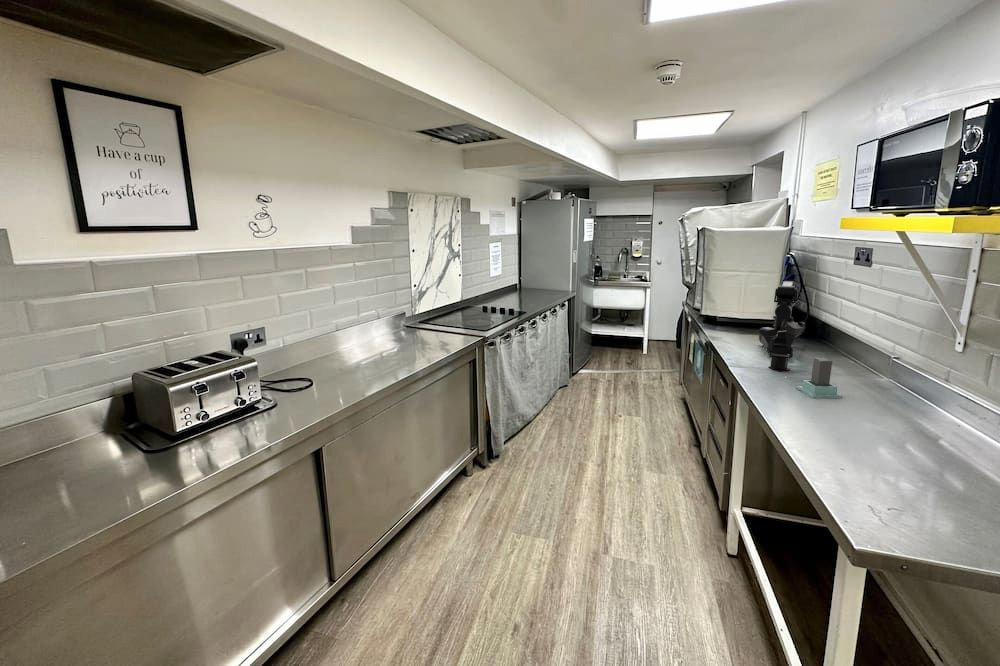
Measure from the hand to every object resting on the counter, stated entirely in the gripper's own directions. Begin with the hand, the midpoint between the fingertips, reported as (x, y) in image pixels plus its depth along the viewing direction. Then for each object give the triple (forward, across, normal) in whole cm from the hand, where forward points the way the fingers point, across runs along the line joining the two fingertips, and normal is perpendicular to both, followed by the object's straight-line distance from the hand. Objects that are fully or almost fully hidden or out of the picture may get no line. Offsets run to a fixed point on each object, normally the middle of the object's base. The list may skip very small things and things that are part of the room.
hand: (779, 349), depth 198 cm
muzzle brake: (+13, +30, +34) cm, 47 cm away
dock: (+13, 0, -21) cm, 25 cm away
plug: (+12, 0, -21) cm, 24 cm away
